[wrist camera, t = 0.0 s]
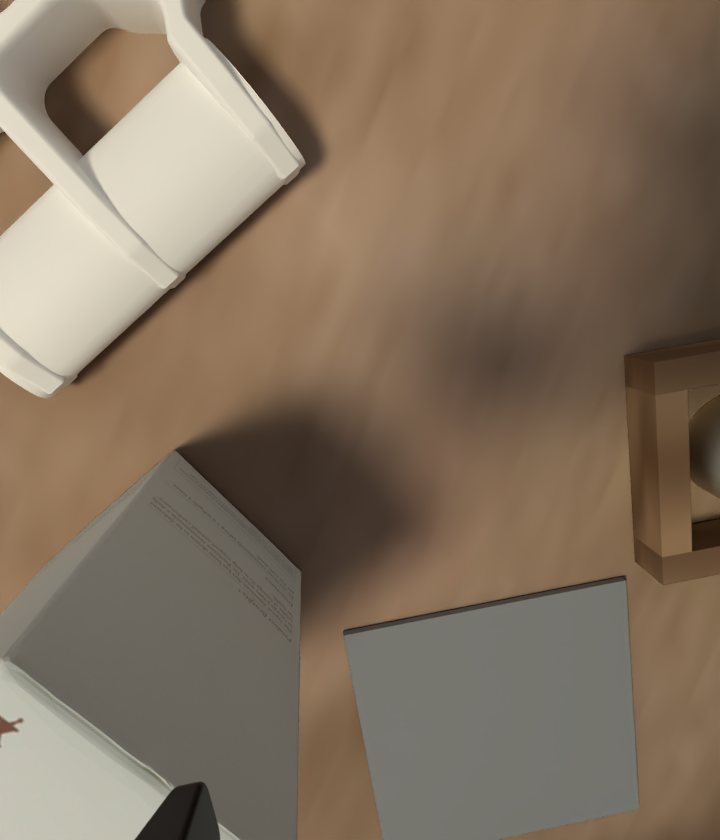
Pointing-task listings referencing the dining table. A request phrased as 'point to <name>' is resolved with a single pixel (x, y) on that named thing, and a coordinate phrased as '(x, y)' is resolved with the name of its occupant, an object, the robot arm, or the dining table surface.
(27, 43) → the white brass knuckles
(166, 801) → the robot arm
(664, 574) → the pocket frame
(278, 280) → the dining table surface
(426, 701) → the mat
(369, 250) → the dining table surface
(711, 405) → the jar
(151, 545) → the supplement box
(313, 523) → the dining table surface
